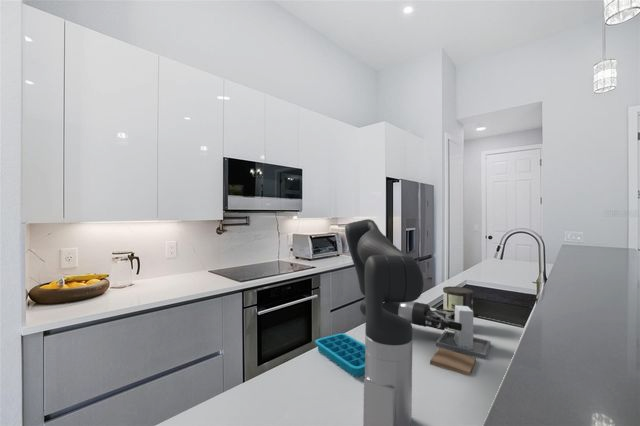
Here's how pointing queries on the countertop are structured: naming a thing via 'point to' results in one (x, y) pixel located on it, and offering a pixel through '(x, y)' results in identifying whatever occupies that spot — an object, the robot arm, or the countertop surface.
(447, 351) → the walnut board
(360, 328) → the countertop surface
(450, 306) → the coffee can
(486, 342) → the grey flat rectangular frame
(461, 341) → the skincare box
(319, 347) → the ice cube tray
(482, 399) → the countertop surface
